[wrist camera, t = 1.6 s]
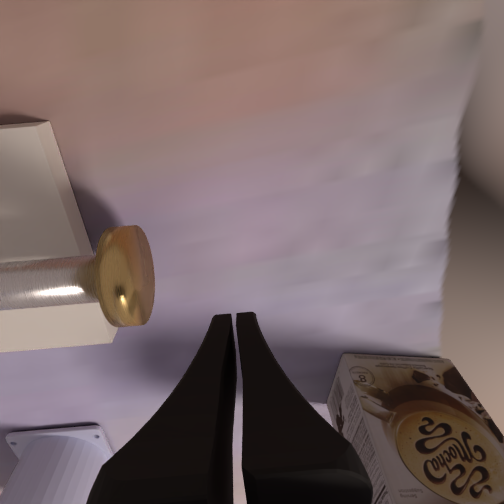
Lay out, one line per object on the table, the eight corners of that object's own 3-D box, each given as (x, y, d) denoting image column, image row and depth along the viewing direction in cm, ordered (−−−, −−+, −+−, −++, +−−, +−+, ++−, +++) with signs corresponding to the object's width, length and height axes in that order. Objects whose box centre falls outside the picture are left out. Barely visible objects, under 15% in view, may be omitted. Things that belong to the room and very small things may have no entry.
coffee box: (452, 355, 28) (671, 657, 14) (424, 408, 31) (581, 700, 17) (340, 349, 27) (454, 665, 13) (323, 405, 30) (401, 709, 16)
